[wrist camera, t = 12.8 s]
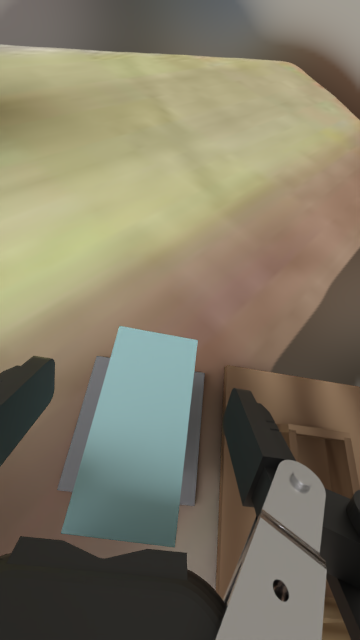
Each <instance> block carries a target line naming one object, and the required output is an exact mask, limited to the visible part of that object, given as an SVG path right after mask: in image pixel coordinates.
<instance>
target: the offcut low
mask: <svg viewBox="0 0 360 640" xmlns="http://www.w3.org/2000/svg"><path fill="white" fill-rule="evenodd" d="M338 622H344V621H343V618H342V616H341V613H340V611H339V609H338V606H337V604H336V601H335V599H334V598H332V597H325V601H324V614H323V623H338Z"/></svg>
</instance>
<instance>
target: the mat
mask: <svg viewBox="0 0 360 640" xmlns="http://www.w3.org/2000/svg"><path fill="white" fill-rule="evenodd" d="M109 361H110V358H107V357H101V356H97V357H96V360H95V364H94V367H93V371H92V374H91V377H90V381H89V384H88V387H87V391H86V394H85V398H84V401H83V404H82V408H81V411H80V415H79V418H78V421H77V425H76V428H75V431H74V435H73V438H72V442H71V445H70V448H69V452H68V455H67V458H66V462H65V465H64V469H63V472H62V475H61V479H60V482H59V485H58V489H57V490H61V491H69V492H73V489H74V485H75V482H76V478H77V475H78V471H79V468H80V464H81V461H82V457H83V453H84V450H85V446H86V443H87V439H88V436H89V432H90V429H91V425H92V422H93V418H94V415H95V411H96V407H97V404H98V400H99V397H100V393H101V390H102V386H103V383H104V379H105V376H106V372H107V368H108V365H109ZM204 375H205V373H201V372H194V378H193V387H192V396H191V405H190V414H189V423H188V432H187V441H186V450H185V459H184V468H183V477H182V486H181V495H180V505H189V506H195V492H196V479H197V466H198V453H199V440H200V427H201V414H202V401H203V388H204Z"/></svg>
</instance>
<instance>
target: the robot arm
mask: <svg viewBox="0 0 360 640" xmlns="http://www.w3.org/2000/svg"><path fill="white" fill-rule="evenodd" d="M54 377H55V362H54V360H53V359H50V358H44V357H38V356H33V357H32V358H30V359H29V360H28V361H27V362H25V363H24V364H23V365H22V366H15V367H13V368H10V369H8V370H5V371H3V372H2V373H1V374H0V466H1V465H2V464H3V462H4V461H5V460H6V458H7V457H8V456H9V455H10V453H11V452H12V451H13V449H14V448H15V447H16V446H17V444H18V443H19V442H20V440H21V439H22V438H23V437H24V435H25V434H26V433H27V431H28V430H29V429H30V428H31V426H32V425H33V424H34V422H35V421H36V420H37V419H38V417H39V416H40V415H41V413H42V412H43V411H44V410H45V408H46V407H47V406H48V404H49V403H50V401H51V399H52V397H53V393H54ZM223 429H224V433H225V437H226V441H227V445H228V449H229V453H230V457H231V461H232V465H233V469H234V473H235V477H236V481H237V485H238V489H239V493H240V497H241V501H242V505H243V506H245V507H254V509H255V512H256V517H255V520H254V522H253V525H252V527H251V530H250V532H249V535H248V538H247V540H246V543H245V545H244V548H243V550H242V553H241V556H240V558H239V561H238V563H237V566H236V568H235V571H234V574H233V576H232V578H231V581H230V583H229V586H228V588H227V591H226V593H225V595H224V598H223V600H222V598H221V597H220V596H219V594H218V593H217V592H216V591H215V590H214V589H213V588H212V587H211V586H210V585H209V584H208V583H207V582H206V581H205V580H204V579H202V578H201V577H200V576H198V575H197V574H195V573H194V572H192V571H190V570H188V569H187V553H182V552H172V551H162V550H152V549H145V550H141V551H137V552H132V553H128V554H124V555H119V556H115V557H111V558H106V559H102V558H98V557H96V556H94V555H92V554H90V553H88V552H86V551H84V550H82V549H79V548H77V547H75V546H73V545H71V544H69V543H67V542H65V541H62V540H52V539H42V538H32V537H22V536H20V538H19V540H18V542H17V544H16V546H15V548H14V549H13V551H12V553H10V554H6V555H3V556H0V640H322V627H323V614H324V601H325V588H326V579H327V581H328V584H329V586H330V589H331V591H332V594H333V596H334V599H335V601H336V604H337V606H338V609H339V611H340V613H341V616H342V618H343V621H344V623H345V626H346V628H347V631H348V633H349V636H350V638H351V640H360V490H357V491H356V492H355V493H354V495H353V496H352V498H351V499H349V498H347V497H345V496H342V495H340V494H338V493H335V492H333V491H330V490H328V489H326V488H324V486H323V484H322V482H321V481H320V479H319V478H318V477H317V476H316V474H315V473H313V472H312V471H311V470H310V469H309V468H307V467H306V466H305V465H303V464H301V463H299V462H297V461H296V460H295V458H294V456H293V454H292V452H291V450H290V449H289V447H288V445H287V443H286V441H285V439H284V438H283V436H282V434H281V432H279V428H278V426H277V425H276V424H275V421H274V419H273V417H272V415H271V414H270V412H269V411H268V410H267V409H266V408H265V407H264V406H263V405H262V404H261V403H257V402H256V400H255V398H254V396H253V394H252V392H251V391H250V390H244V389H238V388H233V389H232V391H231V394H230V397H229V400H228V404H227V407H226V410H225V413H224V418H223Z"/></svg>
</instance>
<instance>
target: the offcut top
mask: <svg viewBox="0 0 360 640" xmlns="http://www.w3.org/2000/svg"><path fill="white" fill-rule="evenodd" d="M322 640H351V638H350V636H349V633H348V631H347V628H346V626H345V623H344V622H338V623H323V627H322Z"/></svg>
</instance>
